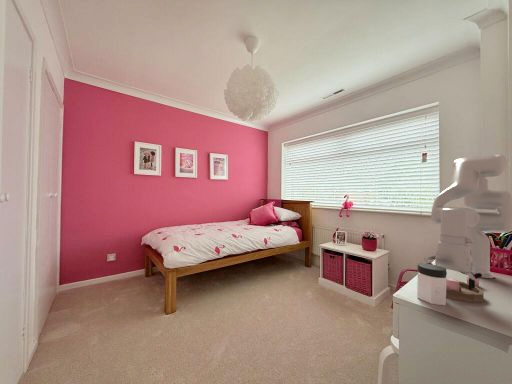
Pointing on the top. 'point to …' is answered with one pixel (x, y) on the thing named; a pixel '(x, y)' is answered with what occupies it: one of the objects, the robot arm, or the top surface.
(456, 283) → the bead
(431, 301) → the jar
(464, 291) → the tray
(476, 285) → the bead
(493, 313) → the top surface
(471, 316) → the top surface
